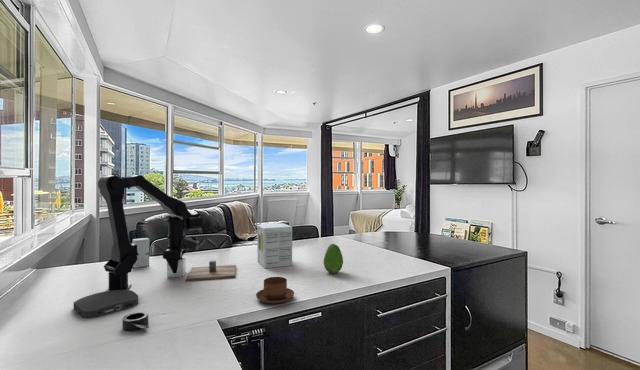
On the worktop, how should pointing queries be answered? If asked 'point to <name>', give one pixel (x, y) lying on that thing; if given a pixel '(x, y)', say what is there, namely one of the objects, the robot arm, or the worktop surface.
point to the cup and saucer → (275, 291)
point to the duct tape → (135, 321)
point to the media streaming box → (105, 303)
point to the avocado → (333, 259)
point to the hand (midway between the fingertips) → (176, 270)
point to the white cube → (180, 269)
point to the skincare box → (142, 252)
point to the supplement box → (274, 245)
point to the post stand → (211, 272)
